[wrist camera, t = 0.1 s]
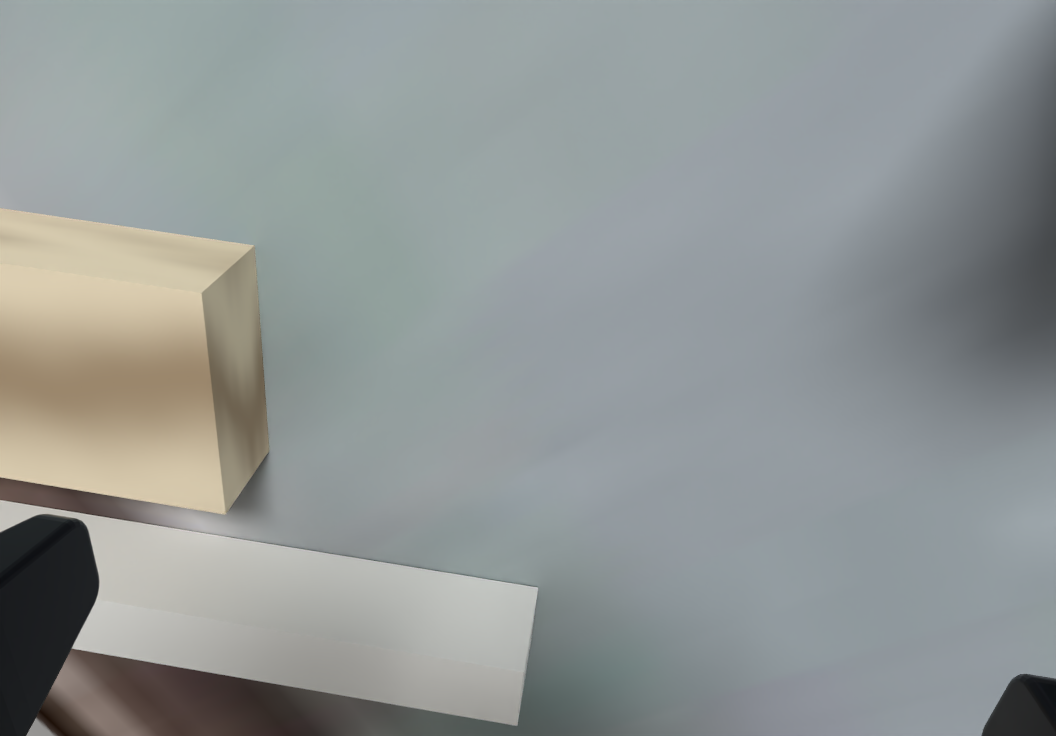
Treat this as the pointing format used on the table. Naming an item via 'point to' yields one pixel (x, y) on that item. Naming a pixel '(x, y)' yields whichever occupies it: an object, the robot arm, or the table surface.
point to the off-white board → (305, 618)
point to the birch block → (129, 361)
